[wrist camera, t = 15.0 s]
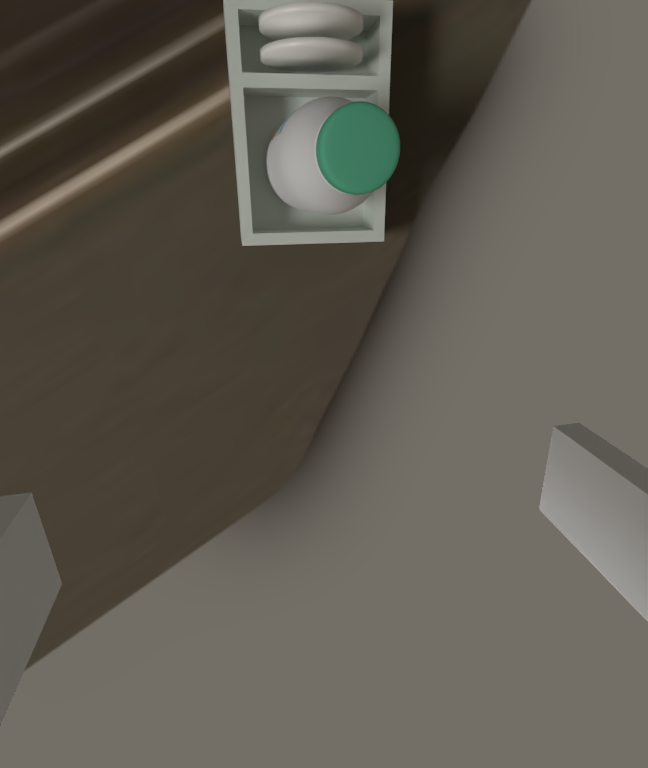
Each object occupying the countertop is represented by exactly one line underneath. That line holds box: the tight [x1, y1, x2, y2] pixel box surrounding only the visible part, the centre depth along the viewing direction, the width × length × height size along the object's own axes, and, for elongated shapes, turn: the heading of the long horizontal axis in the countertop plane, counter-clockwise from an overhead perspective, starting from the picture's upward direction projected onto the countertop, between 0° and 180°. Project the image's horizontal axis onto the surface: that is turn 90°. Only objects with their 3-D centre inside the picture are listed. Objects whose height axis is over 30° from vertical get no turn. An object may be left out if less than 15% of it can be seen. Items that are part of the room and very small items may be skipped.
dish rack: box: [223, 0, 393, 246], centre depth 39 cm, size 13×18×9 cm
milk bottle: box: [266, 96, 400, 215], centre depth 34 cm, size 8×8×20 cm
